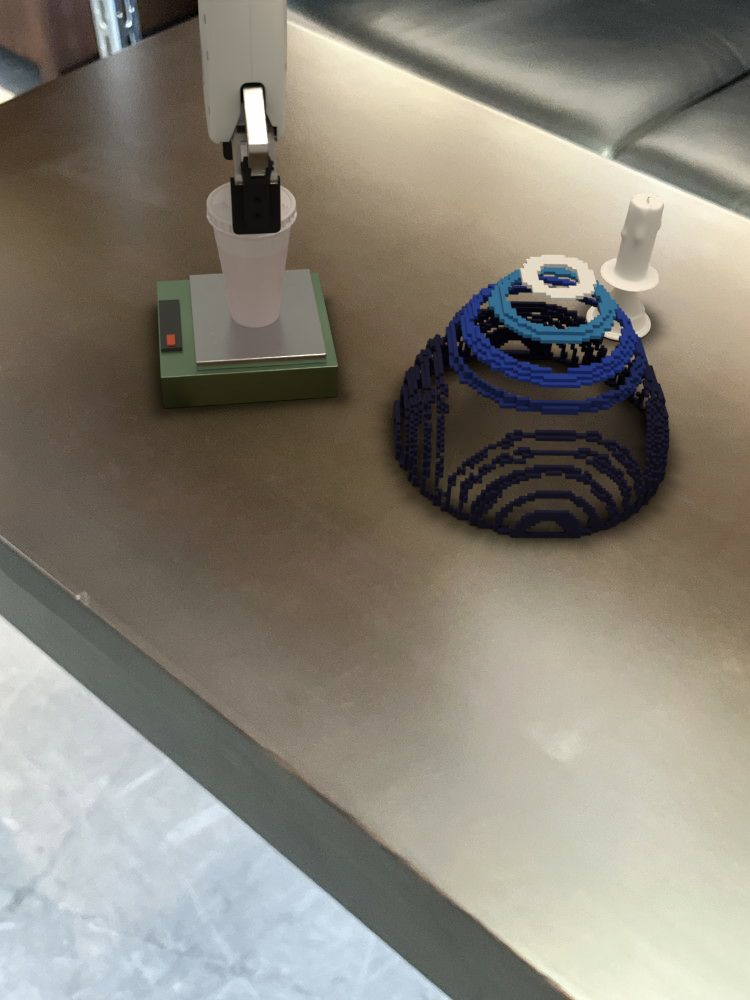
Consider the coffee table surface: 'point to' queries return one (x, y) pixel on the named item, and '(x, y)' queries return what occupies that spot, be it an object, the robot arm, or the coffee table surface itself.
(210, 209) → the smoothie
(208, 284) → the scale platform
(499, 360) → the decorative bowl
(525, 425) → the coffee table surface
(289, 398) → the scale
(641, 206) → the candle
